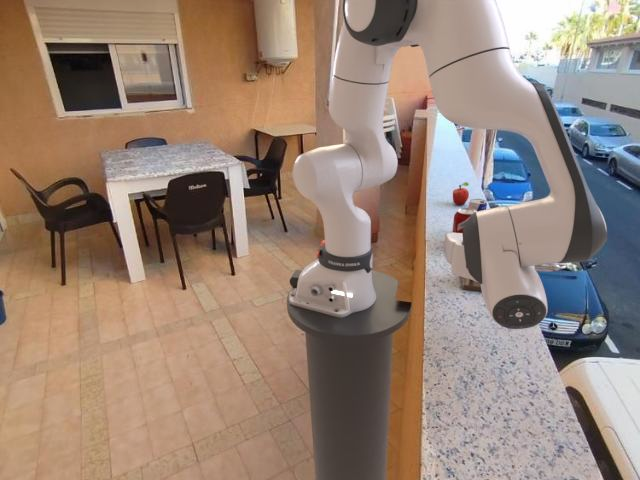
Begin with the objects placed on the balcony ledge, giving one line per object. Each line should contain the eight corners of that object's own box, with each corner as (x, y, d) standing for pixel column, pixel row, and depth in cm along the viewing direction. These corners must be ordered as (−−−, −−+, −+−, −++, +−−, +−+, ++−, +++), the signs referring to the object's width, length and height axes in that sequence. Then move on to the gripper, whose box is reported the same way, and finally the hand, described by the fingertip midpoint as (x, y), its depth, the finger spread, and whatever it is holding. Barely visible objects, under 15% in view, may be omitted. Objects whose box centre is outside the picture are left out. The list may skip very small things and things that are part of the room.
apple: (446, 204, 154) (449, 180, 150) (456, 200, 157) (459, 177, 153) (463, 208, 148) (466, 184, 144) (473, 205, 152) (476, 181, 148)
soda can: (447, 248, 116) (451, 212, 111) (454, 240, 121) (458, 205, 116) (470, 253, 112) (475, 216, 107) (476, 245, 117) (481, 209, 112)
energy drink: (483, 239, 121) (489, 203, 116) (466, 238, 122) (471, 203, 117) (480, 232, 126) (485, 198, 121) (463, 232, 127) (467, 198, 122)
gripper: (573, 253, 63) (552, 224, 75) (446, 243, 68) (445, 217, 80) (565, 286, 65) (546, 252, 77) (443, 273, 71) (443, 243, 83)
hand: (494, 234), depth 79 cm, fingers open, 8 cm apart
